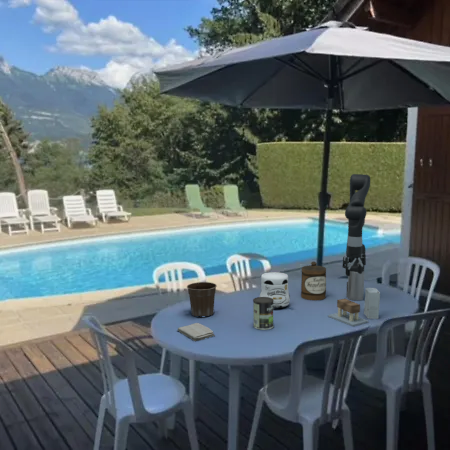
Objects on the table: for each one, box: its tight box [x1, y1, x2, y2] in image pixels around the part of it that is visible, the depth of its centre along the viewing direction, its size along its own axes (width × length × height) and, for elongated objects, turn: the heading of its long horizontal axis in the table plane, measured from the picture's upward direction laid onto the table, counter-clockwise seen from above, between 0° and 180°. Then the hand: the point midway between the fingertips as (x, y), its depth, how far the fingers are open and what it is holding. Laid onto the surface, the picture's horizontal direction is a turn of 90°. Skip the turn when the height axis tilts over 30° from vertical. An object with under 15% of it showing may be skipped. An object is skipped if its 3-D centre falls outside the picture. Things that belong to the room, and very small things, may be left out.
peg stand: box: [327, 307, 369, 327], centre depth 258 cm, size 18×11×6 cm, turn 31°
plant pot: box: [186, 281, 218, 317], centre depth 269 cm, size 16×16×16 cm
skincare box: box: [363, 287, 381, 320], centre depth 261 cm, size 8×6×15 cm
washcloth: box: [177, 322, 215, 342], centre depth 241 cm, size 12×18×3 cm, turn 36°
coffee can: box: [252, 296, 274, 331], centre depth 249 cm, size 10×10×14 cm
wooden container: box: [300, 261, 327, 301], centre depth 297 cm, size 15×15×22 cm
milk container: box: [259, 271, 291, 309], centre depth 282 cm, size 17×17×18 cm
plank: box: [336, 298, 361, 314], centre depth 257 cm, size 12×5×4 cm, turn 25°
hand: (353, 274), depth 258 cm, fingers open, 8 cm apart
